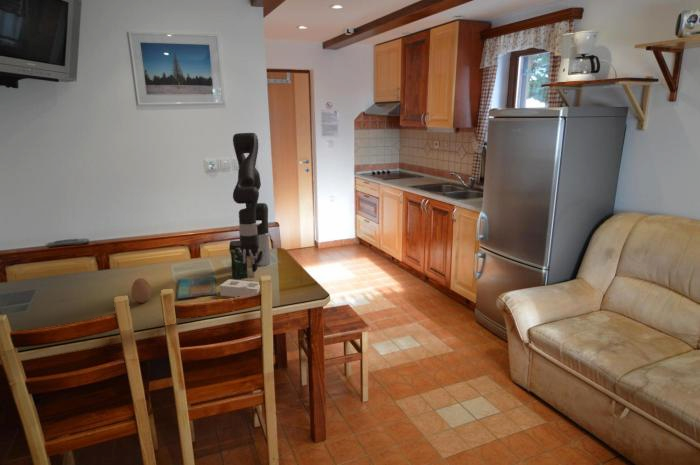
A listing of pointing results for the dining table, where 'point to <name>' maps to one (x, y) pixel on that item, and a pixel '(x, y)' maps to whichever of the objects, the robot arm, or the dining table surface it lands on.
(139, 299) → the egg
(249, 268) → the peg
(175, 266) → the dining table surface
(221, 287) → the block
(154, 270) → the dining table surface
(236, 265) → the coffee jar
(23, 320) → the dining table surface
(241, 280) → the mat
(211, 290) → the book
